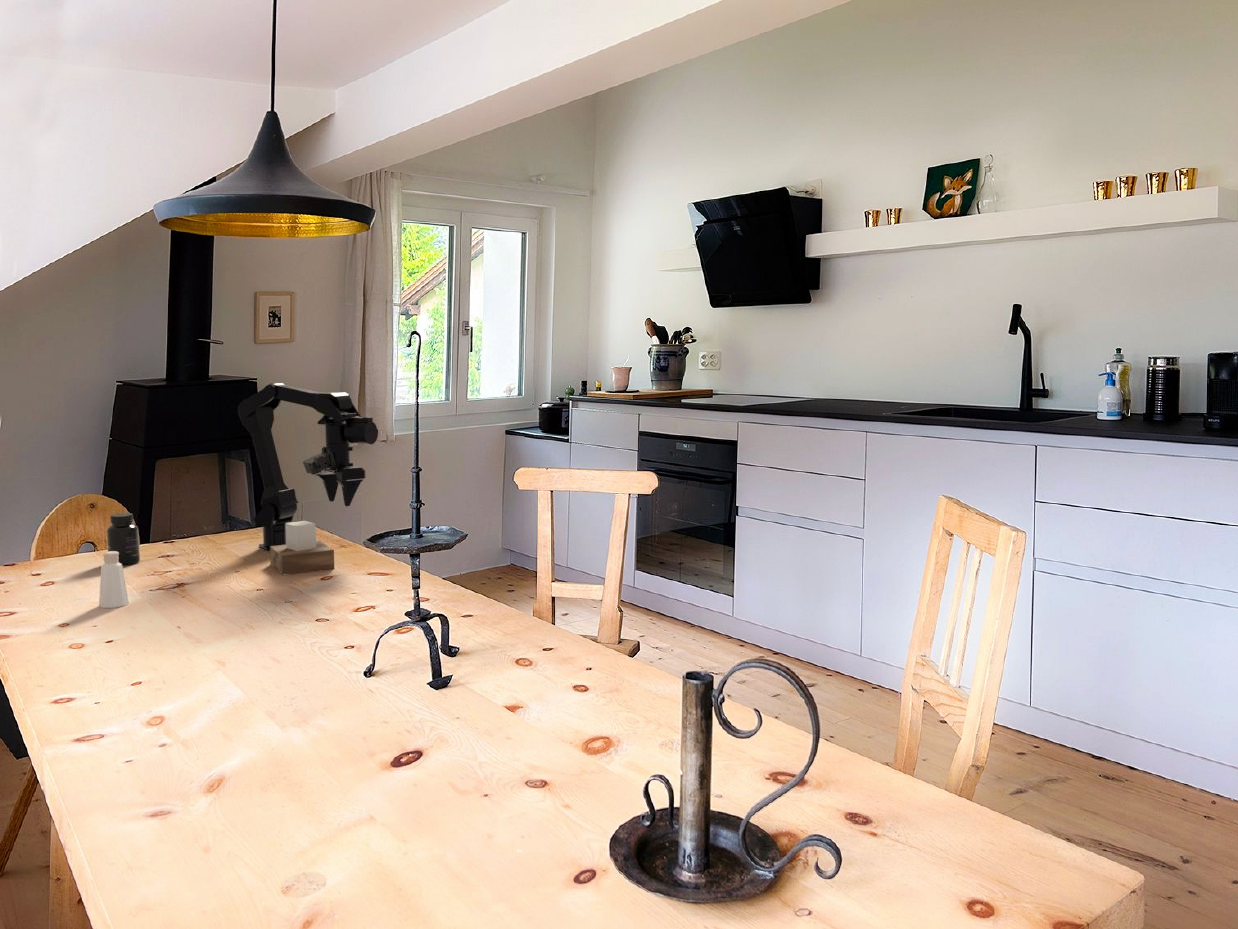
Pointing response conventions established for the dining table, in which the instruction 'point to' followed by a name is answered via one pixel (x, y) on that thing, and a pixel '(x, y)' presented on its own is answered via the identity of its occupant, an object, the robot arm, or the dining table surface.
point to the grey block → (300, 535)
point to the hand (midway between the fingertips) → (339, 503)
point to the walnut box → (302, 559)
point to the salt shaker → (112, 582)
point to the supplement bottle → (124, 538)
